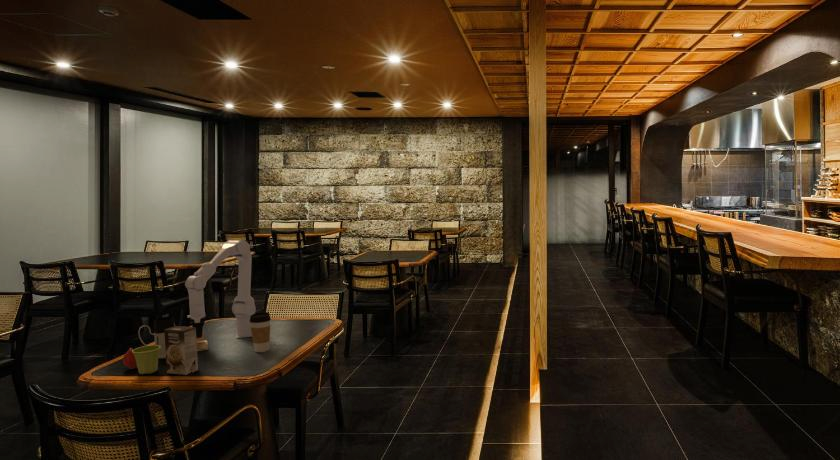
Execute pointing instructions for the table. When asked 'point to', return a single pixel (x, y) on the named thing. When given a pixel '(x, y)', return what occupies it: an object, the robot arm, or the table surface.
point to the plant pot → (147, 358)
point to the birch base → (202, 345)
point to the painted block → (201, 337)
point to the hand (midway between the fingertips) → (199, 336)
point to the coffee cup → (260, 331)
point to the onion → (129, 359)
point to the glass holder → (160, 333)
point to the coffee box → (181, 350)
